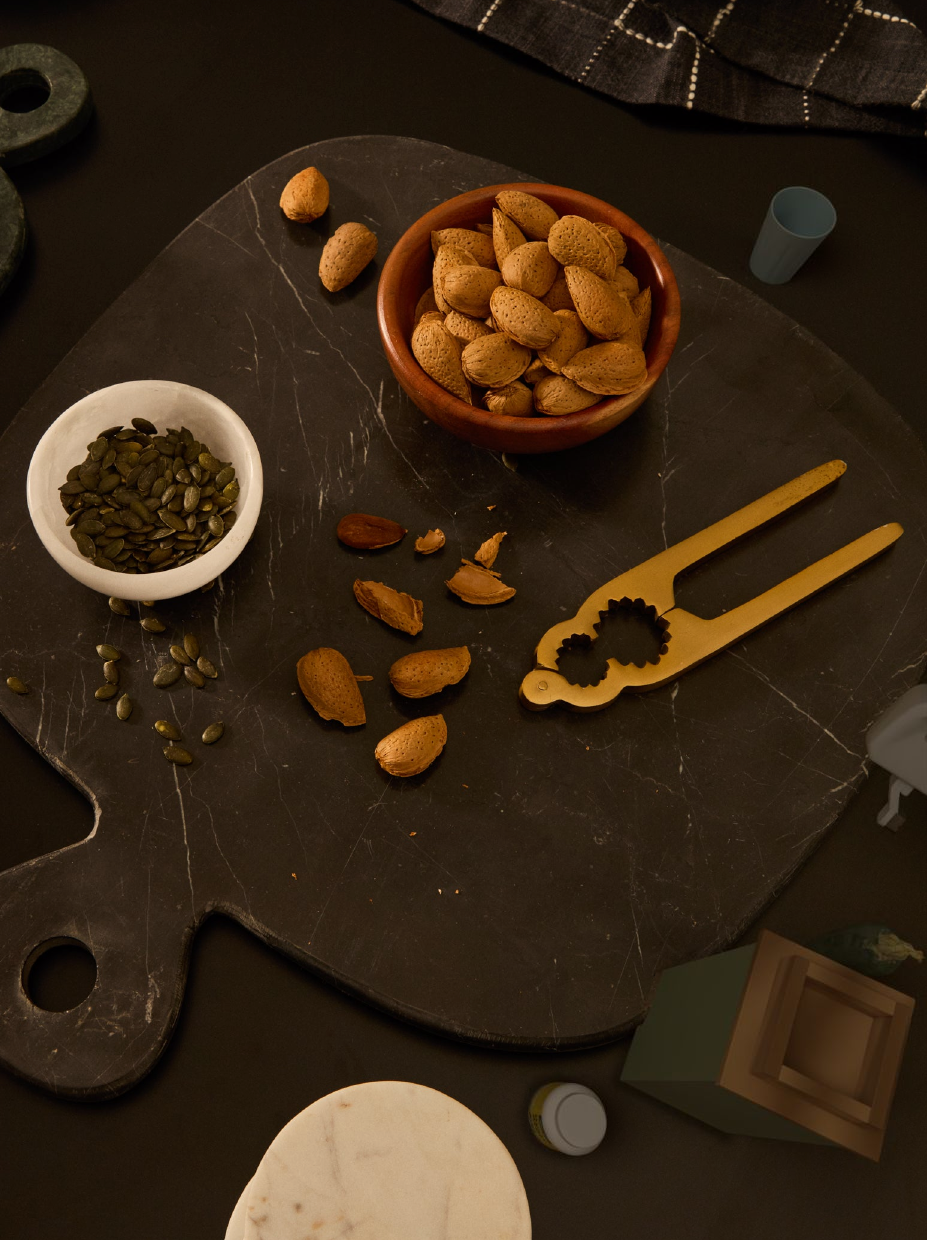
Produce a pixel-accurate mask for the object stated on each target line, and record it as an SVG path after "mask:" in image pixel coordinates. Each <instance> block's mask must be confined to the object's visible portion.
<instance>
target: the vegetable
mask: <svg viewBox="0 0 927 1240" xmlns="http://www.w3.org/2000/svg"><path fill="white" fill-rule="evenodd" d="M804 947H805V948H807V949H809V950H811V951H813V952H815V953H818V954H820V955H822V956H824V957H826V958H828V959H830V960H833V961H835V962H837V963H839V964H841V965H843V966H845V967H847V968H850V969H852V970H854V971H856V972H858V973H860V974H862V975H865V976H870V977H871V976H872V977H883V976H888V975H890V974H892V973H893V972H895V971H896V970H897V969H898V968H899V966H900V965H901V964H902V961H905V960H907V958H908V957H912V959H915V960H916V962H918V963H920V964H922V962H923V959H926V957H925V956H924V952H923V950H915V948H914V947H913V945H912V944H911V942H909V943H908V942H905V941H904V940H901V939H900V937H899V935H898V934H897V933H896V932H895V931H894V930H893V929H892V928H891V927H889V926H888V925H885V924H883V923H880V922H878V921H877V922H876V921H858V922H854V923H851V924H847V925H844V926H842V927H838V928H835V929H833V930H830V931H828V932H827V933H824V934H822V935H819V936H817V937H815V938H814V939H812V940H811V941H810V942H808V943H807V944H806V945H805V946H804Z"/></svg>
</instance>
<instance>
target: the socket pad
mask: <svg viewBox="0 0 927 1240" xmlns="http://www.w3.org/2000/svg"><path fill="white" fill-rule="evenodd" d="M755 943H756V946H755V950H754V953H753V957H752V960H751V963H750V967H749V970H748V974H747V977H746V981H745V984H744V987H743V991H742V994H741V998H740V1001H739V1005H738V1008H737V1011H736V1015H735V1018H734V1022H733V1025H732V1029H731V1032H730V1035H729V1039H728V1042H727V1046H726V1049H725V1053H724V1056H723V1059H722V1063H721V1066H720V1070H719V1073H718V1077H717V1080H716V1083H715V1085H716V1086H718V1087H720V1088H722V1089H724V1090H726V1091H728V1092H730V1093H732V1094H735V1095H737V1096H739V1097H741V1098H743V1099H745V1100H747V1101H749V1102H751V1103H753V1104H755V1105H757V1106H759V1107H761V1108H763V1109H765V1110H767V1111H769V1112H771V1113H773V1114H775V1115H777V1116H779V1117H781V1118H783V1119H785V1120H787V1121H789V1122H791V1123H794V1124H796V1125H798V1126H800V1127H802V1128H804V1129H806V1130H808V1131H810V1132H812V1133H814V1134H816V1135H818V1136H820V1137H822V1138H824V1139H826V1140H828V1141H830V1142H832V1143H834V1144H836V1145H838V1146H840V1147H839V1148H842V1149H844V1150H846V1151H849V1152H850V1153H852V1154H854V1155H856V1156H859V1157H860V1158H863V1159H864V1160H867V1161H869V1162H871V1163H879V1162H880V1158H881V1153H882V1148H883V1145H884V1141H885V1137H886V1132H887V1127H888V1123H889V1118H890V1113H891V1109H892V1105H893V1101H894V1097H895V1091H896V1087H897V1083H898V1079H899V1075H900V1069H901V1065H902V1062H903V1061H902V1060H903V1057H904V1052H905V1047H906V1044H907V1039H908V1036H909V1035H908V1034H909V1031H910V1026H911V1021H912V1019H913V1018H912V1017H913V1013H914V1008H915V1004H916V999H915V998H913V997H912V996H909V995H907V994H905V993H903V992H901V991H899V990H897V989H894V988H892V987H890V986H888V985H886V984H883V983H882V982H879V981H877V980H875V979H874V978H870V977H869V976H868V975H864V974H860V973H858V972H856V971H854V970H852V969H850V968H847V967H845V966H843V965H841V964H839V963H837V962H835V961H833V960H830V959H828V958H826V957H824V956H822V955H820V954H818V953H815V952H813V951H811V950H809V949H807V948H805V946H802V945H801V944H799V943H796V942H794V941H792V940H791V939H788V938H785V937H784V936H781V935H780V934H777V933H775V932H772V931H771V930H768V929H766V928H764V929H760V930H759V932H758V936H757V940H756V942H755Z"/></svg>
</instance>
